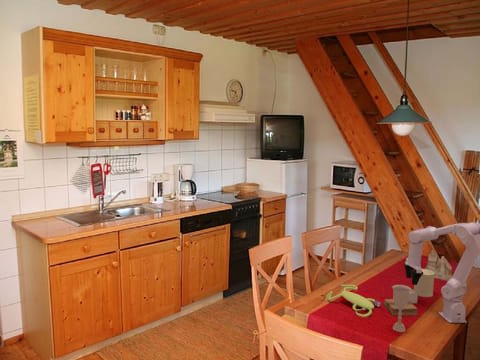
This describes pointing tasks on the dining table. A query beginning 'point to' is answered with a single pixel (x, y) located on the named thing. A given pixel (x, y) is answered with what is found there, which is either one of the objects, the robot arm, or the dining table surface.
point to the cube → (413, 296)
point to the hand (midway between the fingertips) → (411, 281)
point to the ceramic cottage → (439, 267)
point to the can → (425, 284)
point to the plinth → (391, 306)
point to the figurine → (355, 299)
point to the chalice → (400, 303)
